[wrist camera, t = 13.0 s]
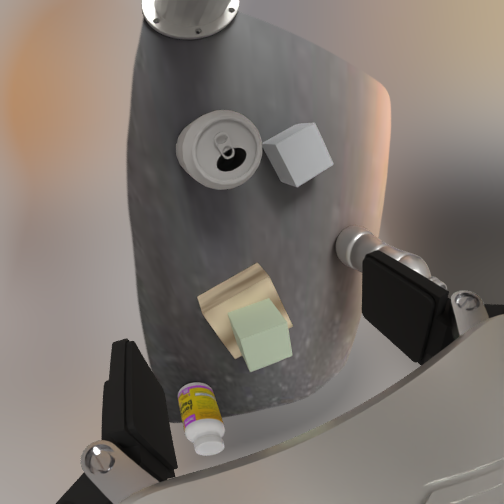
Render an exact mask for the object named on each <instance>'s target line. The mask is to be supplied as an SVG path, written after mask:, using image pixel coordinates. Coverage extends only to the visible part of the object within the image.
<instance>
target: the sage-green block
mask: <svg viewBox="0 0 504 504" xmlns="http://www.w3.org/2000/svg"><path fill="white" fill-rule="evenodd" d="M228 317H229V320H230V323H231V326H232V330H233V333H234V336H235V339H236V342H237V345H238V347H239V349H240V352H241V354H242V356H243V358H244V360H245V362H246V364H247V367H248V369H249V371H250V372H252V371H255V370H258V369H260V368H263V367H265V366H268V365H270V364H273V363H276V362H278V361H280V360H283V359H285V358H288V357H290V356H292V349H291V343H290V337H289V330H288V324H287V321H286V320H285V319H284V317H283V316H282V315H281V313H280V312H279V311H278V309H277V308H276V307H275V305H274V304H273V303H272V301H271V300H270V299H269V298H268V299H265V300H262V301H260V302H257V303H254V304H251V305H248V306H246V307H243V308H240V309H237V310H234V311H231V312H228Z"/></svg>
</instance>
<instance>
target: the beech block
mask: <svg viewBox="0 0 504 504" xmlns="http://www.w3.org/2000/svg"><path fill="white" fill-rule="evenodd" d="M197 298H198V301H199V304H200V307H201V311H202V314H203V315H204V317H205V318H206V320H207V321H208V322H209V324H210V325H211V327H212V328H213V329H214V331H215V332H216V334H217V335H218V336H219V338H220V339H221V341H222V342H223V343H224V345H225V346H226V347H227V349H228V350H229V351H230V353H231V354H232V355H233V357H234V358H235V359H237V358H238V357H240V356H242V354H241V352H240V349H239V347H238V345H237V342H236V339H235V336H234V333H233V330H232V326H231V323H230V320H229V317H228V312H231V311H234V310H237V309H240V308H243V307H246V306H248V305H251V304H254V303H257V302H260V301H262V300H265V299H268V298H269V299H270V300H271V301H272V303H273V304H274V305H275V307H276V308H277V309H278V311H279V312H280V313H281V315H282V316H283V317H284V319H285V320H286V321H287V324H288V329H289V328H291V327H292V326H293V325H292V323H291V321H290V319H289V317H288V315H287V313H286V311H285V308H284V306H283V304H282V302H281V300H280V298H279V296H278V294H277V292H276V290H275V287H274V285H273V283H272V281H271V279H270V277H269V275H268V274H267V273H266V272H265V271H264V270H263V269H262V267H261V266H260V265H259V264H258V263H256V264H254V265H252V266H251V267H249V268H247V269H245V270H244V271H242V272H240V273H238V274H237V275H235V276H233V277H231V278H229V279H228V280H226V281H224V282H222V283H221V284H219V285H217V286H215V287H214V288H212V289H210V290H208V291H206V292H205V293H203V294H201V295H199V296H198V297H197Z"/></svg>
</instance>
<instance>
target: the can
mask: <svg viewBox="0 0 504 504" xmlns="http://www.w3.org/2000/svg"><path fill="white" fill-rule="evenodd" d="M176 156H177V159H178V161H179V164H180V165H181V166H182V167H183V169H184V170H185V171H186V172H187V173H188V174H189V175H190V176H191V177H193V178H194V179H195V180H196V181H198V182H199V183H201V184H203V185H204V186H206V187H209V188H213V189H217V190H222V189H232V188H234V187H237V186H239V185H242V184H243V183H245V182H246V181H247V180H248V179H249V178H251V177H252V176H253V174H254V173H255V171H256V170H257V168H258V167H259V164H260V161H261V157H262V140H261V137H260V134H259V131H258V130H257V128H256V127H255V126H254V124H253V123H252V121H250V120H249V119H248V118H246V117H245V116H243V115H242V114H240V113H237V112H234V111H230V110H216V111H213V112H210V113H207V114H204V115H203V116H201V117H199V118H198V119H196V120H195V121H193V122H191V123H190V124H189V125H188V126H186V127H185V128H184V129H183V131H182V132H181V133H180V135H179V136H178V140H177V143H176Z"/></svg>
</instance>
